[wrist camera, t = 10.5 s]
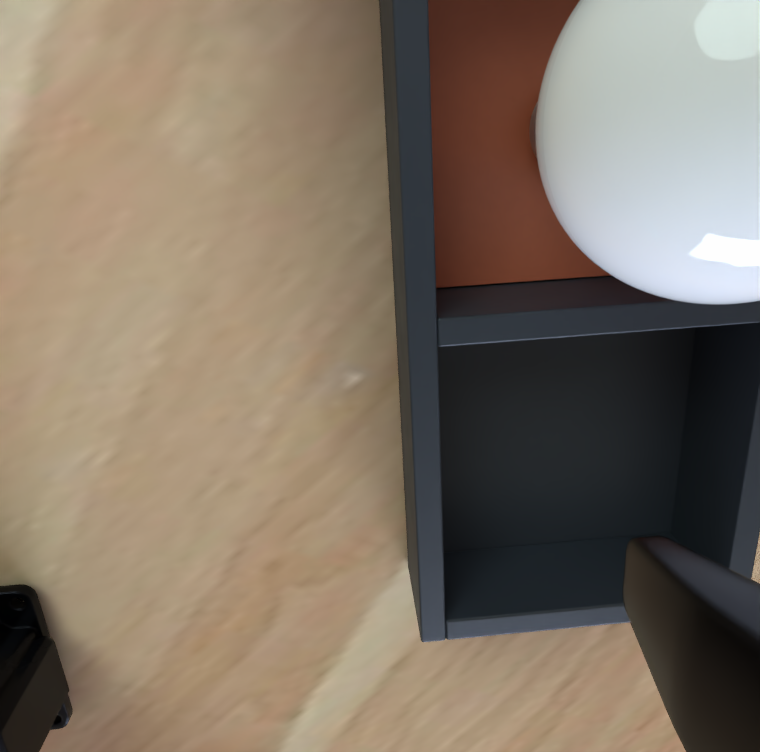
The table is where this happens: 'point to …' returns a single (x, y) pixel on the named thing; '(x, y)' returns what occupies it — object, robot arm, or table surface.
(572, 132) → the lightbulb
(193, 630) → the table surface
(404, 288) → the tray
